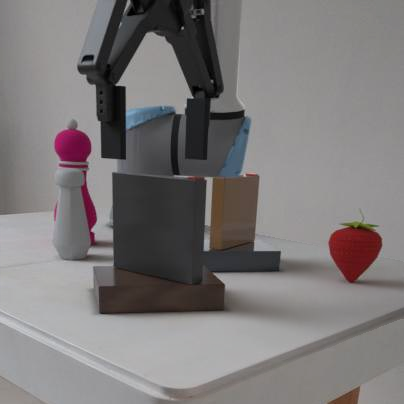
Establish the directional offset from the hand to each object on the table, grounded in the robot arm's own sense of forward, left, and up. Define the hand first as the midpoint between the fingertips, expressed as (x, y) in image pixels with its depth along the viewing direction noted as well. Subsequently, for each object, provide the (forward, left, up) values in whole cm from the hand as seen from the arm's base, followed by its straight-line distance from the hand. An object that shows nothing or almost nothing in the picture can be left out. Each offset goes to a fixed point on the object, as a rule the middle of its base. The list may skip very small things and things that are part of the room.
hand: (158, 159), depth 61 cm
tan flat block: (-19, +15, -13) cm, 27 cm away
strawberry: (-7, +29, -16) cm, 34 cm away
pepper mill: (-37, -8, -16) cm, 41 cm away
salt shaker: (-25, -9, -16) cm, 31 cm away
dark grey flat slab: (0, 0, -13) cm, 13 cm away
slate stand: (-19, +15, -16) cm, 29 cm away
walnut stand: (0, 0, -16) cm, 16 cm away
